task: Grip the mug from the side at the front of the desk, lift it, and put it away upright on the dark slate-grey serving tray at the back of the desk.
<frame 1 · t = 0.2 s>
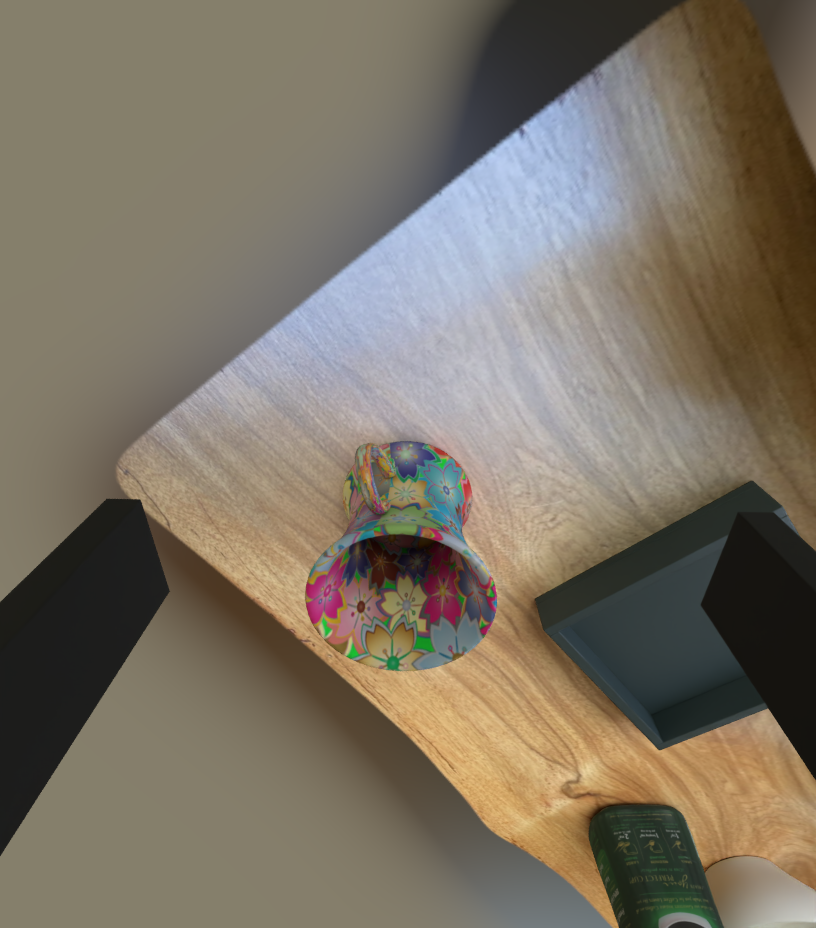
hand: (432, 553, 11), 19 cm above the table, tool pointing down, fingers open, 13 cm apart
tray: (690, 616, 37), on the table
mug: (402, 473, 33), on the table
coffee jar: (632, 818, 51), on the table
bowl: (738, 869, 56), on the table
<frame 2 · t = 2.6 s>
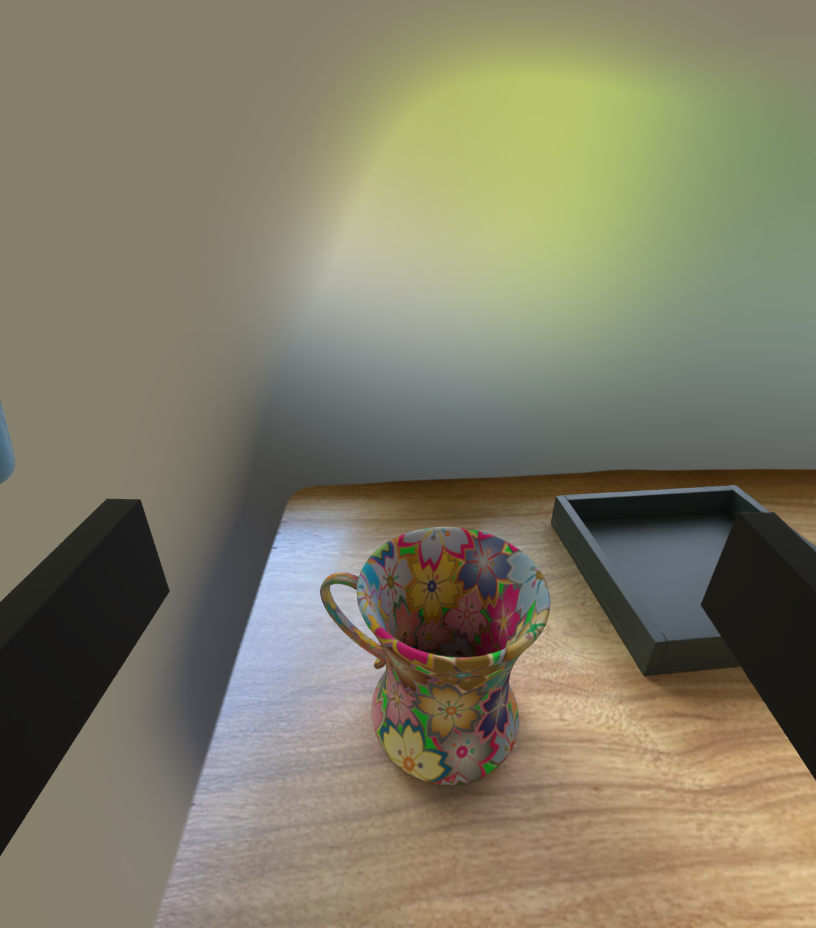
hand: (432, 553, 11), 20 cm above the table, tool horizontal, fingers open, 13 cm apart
tray: (692, 577, 40), on the table
mug: (422, 712, 30), on the table
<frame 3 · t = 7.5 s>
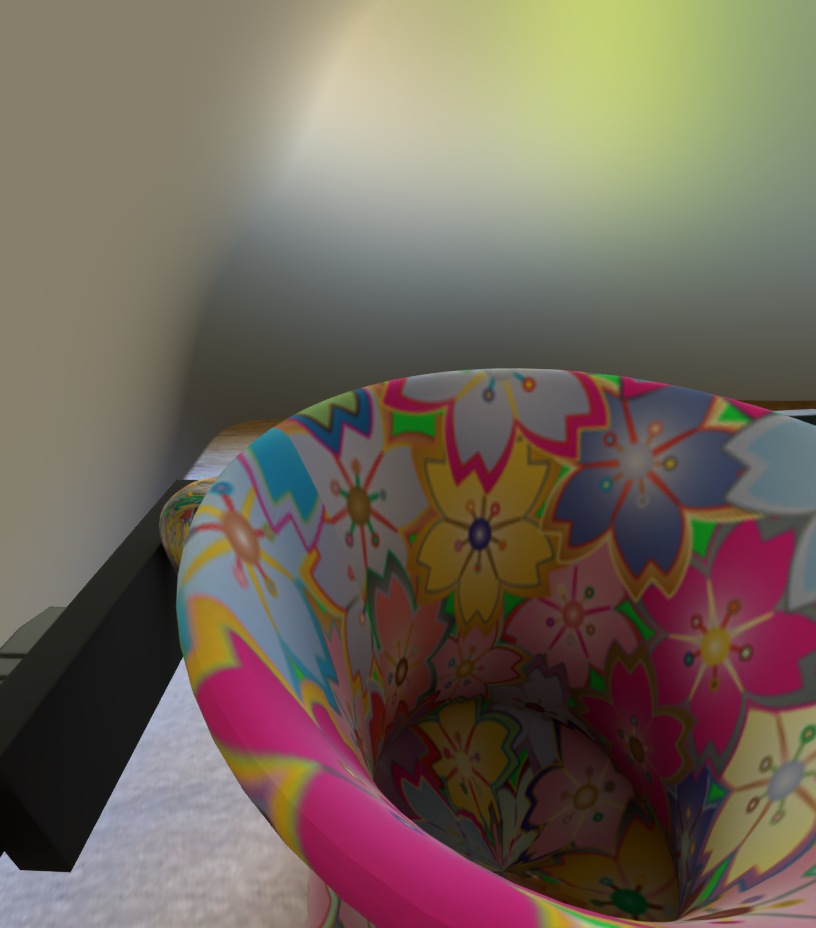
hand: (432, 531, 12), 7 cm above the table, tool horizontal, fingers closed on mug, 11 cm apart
mug: (443, 859, 12), on the table, touching gripper
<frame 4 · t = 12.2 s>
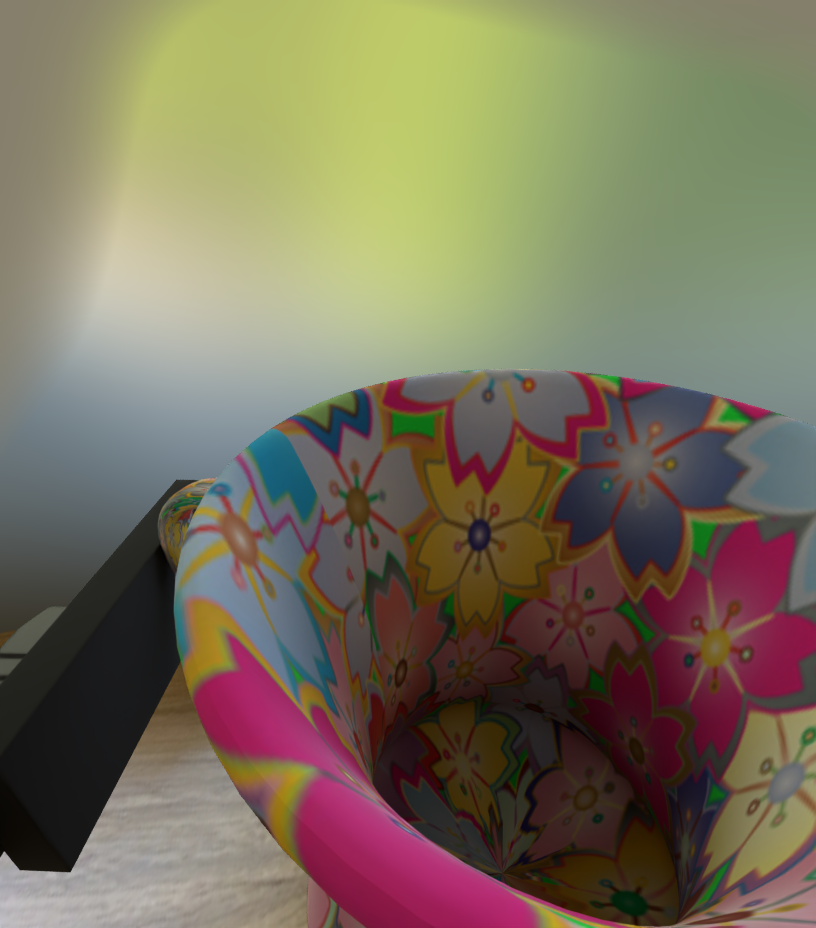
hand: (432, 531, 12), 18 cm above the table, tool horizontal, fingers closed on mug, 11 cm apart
mug: (443, 860, 12), point 11 cm above the table, touching gripper
when the fingers open (7 cm above the table, at t = 16.7 s): mug stays where it is, resting on tray.
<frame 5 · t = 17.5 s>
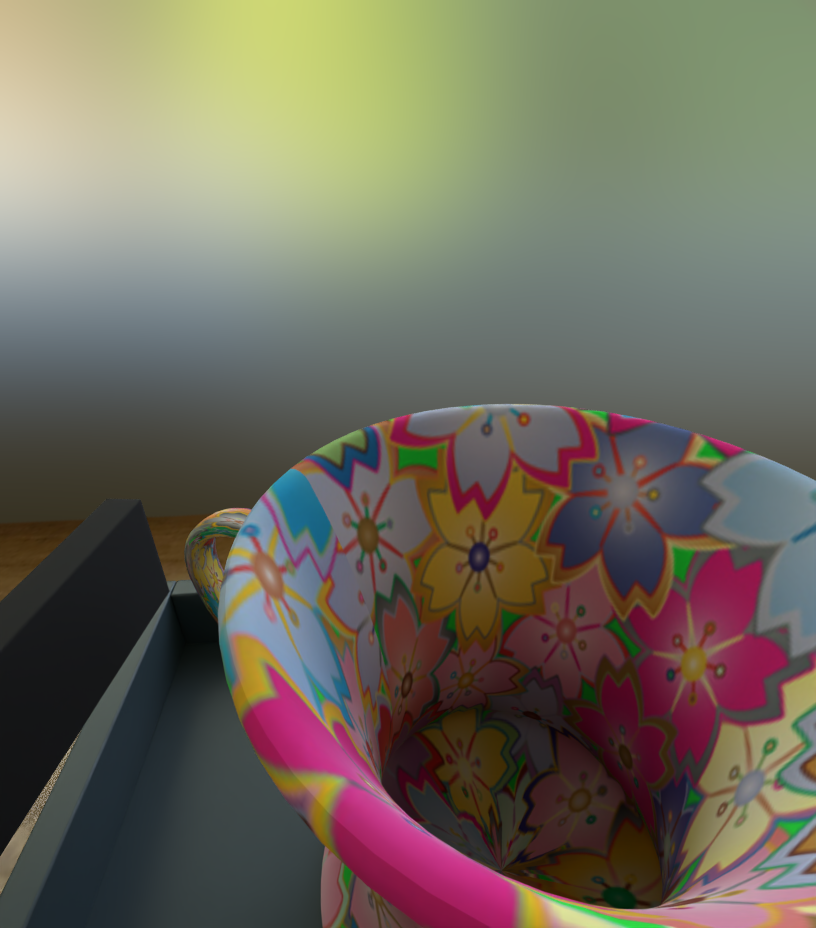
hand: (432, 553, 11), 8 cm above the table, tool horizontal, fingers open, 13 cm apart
tray: (428, 868, 13), on the table
mug: (446, 858, 13), resting on tray
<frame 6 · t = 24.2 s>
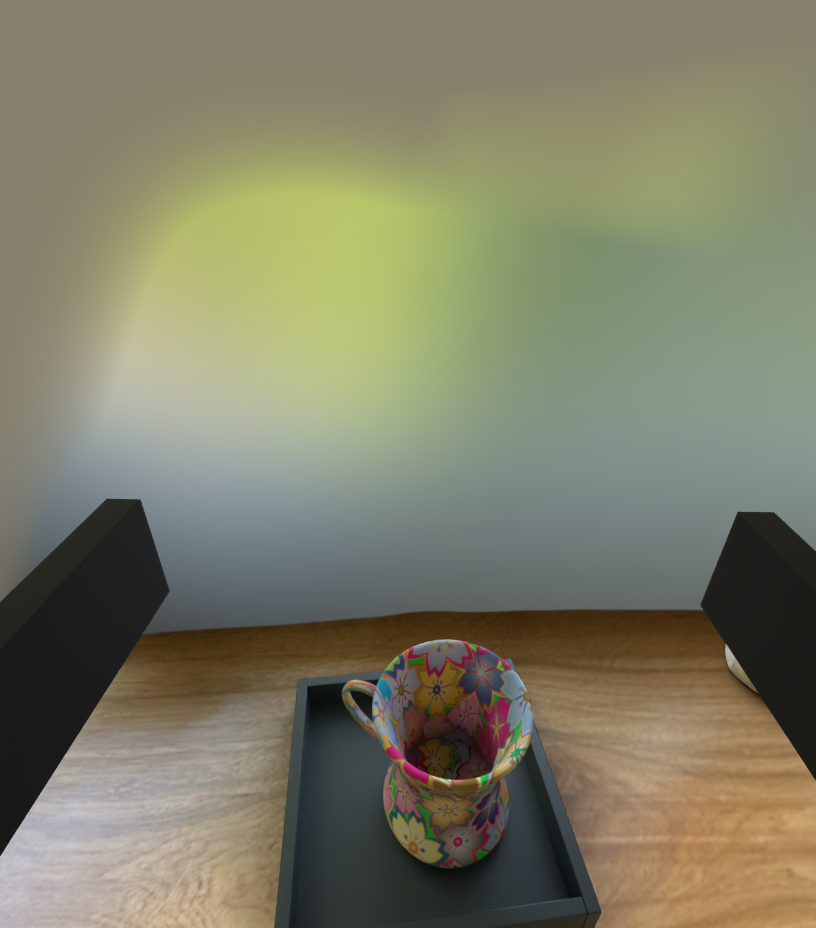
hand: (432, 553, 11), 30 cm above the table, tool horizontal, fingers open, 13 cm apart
tray: (420, 797, 34), on the table
mug: (426, 794, 34), resting on tray
bread roll: (777, 675, 43), on the table
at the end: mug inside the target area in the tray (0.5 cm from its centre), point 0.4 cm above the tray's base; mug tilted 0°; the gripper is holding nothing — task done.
